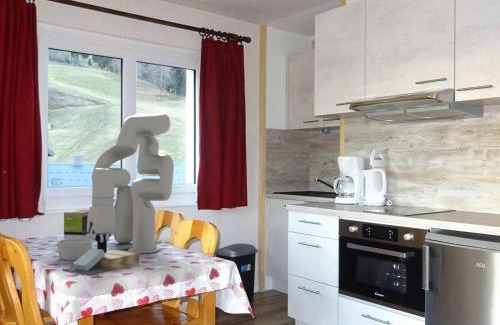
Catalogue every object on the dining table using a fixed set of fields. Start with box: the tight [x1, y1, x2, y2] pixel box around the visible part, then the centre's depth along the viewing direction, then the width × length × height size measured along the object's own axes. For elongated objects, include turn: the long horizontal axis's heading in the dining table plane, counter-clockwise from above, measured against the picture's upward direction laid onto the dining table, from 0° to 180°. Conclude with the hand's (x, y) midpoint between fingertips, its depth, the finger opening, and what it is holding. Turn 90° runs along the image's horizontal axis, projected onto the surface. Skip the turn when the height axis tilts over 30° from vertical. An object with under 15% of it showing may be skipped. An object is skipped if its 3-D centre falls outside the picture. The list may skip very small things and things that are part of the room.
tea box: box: [63, 209, 95, 240], centre depth 226 cm, size 15×10×15 cm
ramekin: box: [56, 238, 94, 261], centre depth 181 cm, size 13×13×7 cm
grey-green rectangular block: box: [72, 247, 105, 271], centre depth 161 cm, size 9×6×2 cm, turn 149°
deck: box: [94, 248, 140, 271], centre depth 169 cm, size 14×14×4 cm
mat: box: [62, 266, 112, 276], centre depth 159 cm, size 9×14×1 cm, turn 59°
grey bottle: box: [113, 184, 133, 245], centre depth 218 cm, size 10×10×28 cm
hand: (101, 252), depth 165 cm, fingers closed
